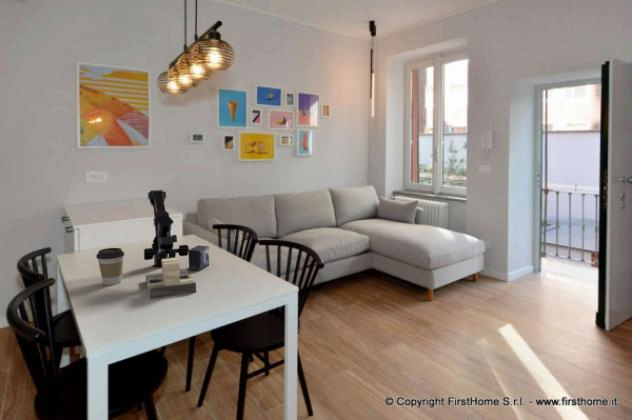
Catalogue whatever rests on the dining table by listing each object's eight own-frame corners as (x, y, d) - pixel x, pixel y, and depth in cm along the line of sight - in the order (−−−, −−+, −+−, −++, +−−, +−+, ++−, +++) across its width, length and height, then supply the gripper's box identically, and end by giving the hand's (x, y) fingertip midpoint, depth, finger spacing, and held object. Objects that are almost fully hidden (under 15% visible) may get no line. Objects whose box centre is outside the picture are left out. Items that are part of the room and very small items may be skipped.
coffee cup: (132, 280, 185) (130, 248, 183) (112, 288, 174) (109, 254, 172) (112, 277, 188) (110, 246, 186) (92, 285, 178) (89, 252, 176)
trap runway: (145, 281, 184) (145, 272, 183) (186, 275, 191) (186, 267, 191) (150, 298, 161) (149, 289, 161) (196, 292, 169) (195, 282, 169)
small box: (200, 271, 199) (199, 250, 198) (188, 270, 200) (187, 249, 199) (210, 265, 209) (209, 245, 208) (198, 264, 211) (197, 245, 209)
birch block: (162, 281, 174) (161, 258, 172) (177, 279, 176) (176, 257, 175) (165, 287, 166) (163, 264, 164) (180, 285, 168) (179, 262, 167)
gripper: (142, 230, 175) (145, 261, 166) (187, 227, 183) (192, 256, 175) (142, 244, 183) (145, 274, 175) (185, 240, 191) (190, 269, 183)
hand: (168, 268), depth 177 cm, fingers closed
